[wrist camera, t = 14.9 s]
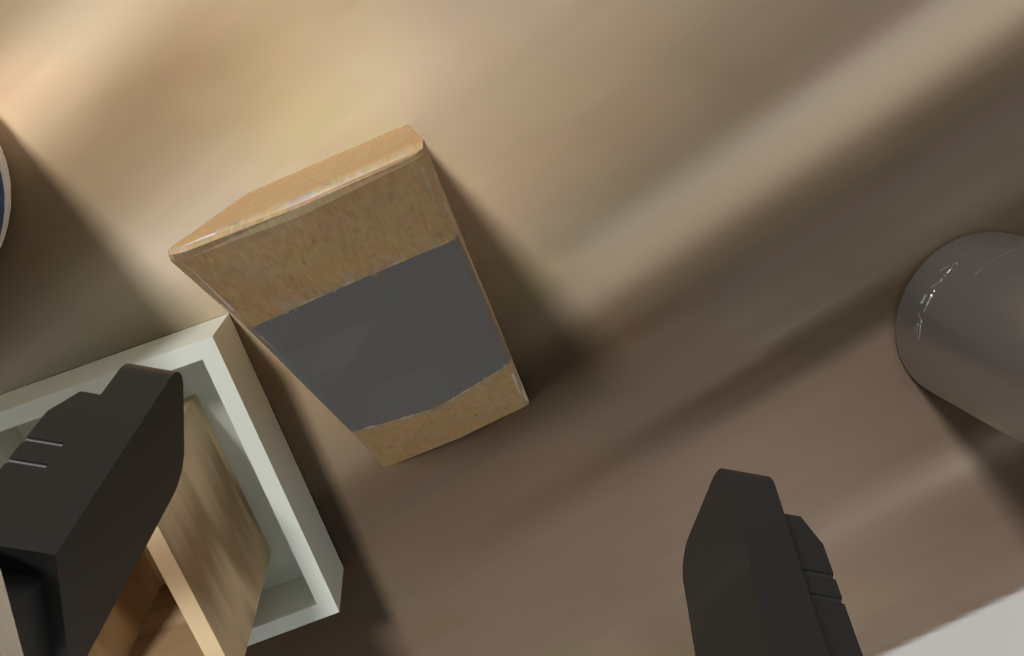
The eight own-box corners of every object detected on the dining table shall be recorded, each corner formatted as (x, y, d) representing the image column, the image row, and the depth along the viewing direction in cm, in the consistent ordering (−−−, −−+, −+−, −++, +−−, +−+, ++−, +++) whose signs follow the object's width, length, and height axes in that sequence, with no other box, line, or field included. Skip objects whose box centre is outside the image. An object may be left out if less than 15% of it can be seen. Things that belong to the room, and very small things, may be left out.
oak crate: (271, 551, 44) (238, 681, 34) (157, 594, 44) (91, 736, 34) (195, 394, 41) (137, 486, 32) (74, 438, 41) (-23, 544, 31)
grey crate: (343, 567, 45) (339, 612, 42) (130, 646, 45) (106, 698, 41) (228, 313, 41) (212, 336, 37) (-8, 397, 41) (-49, 429, 37)
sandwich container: (380, 472, 44) (377, 654, 30) (240, 195, 40) (156, 254, 26) (535, 404, 45) (604, 553, 30) (412, 121, 40) (424, 138, 26)
